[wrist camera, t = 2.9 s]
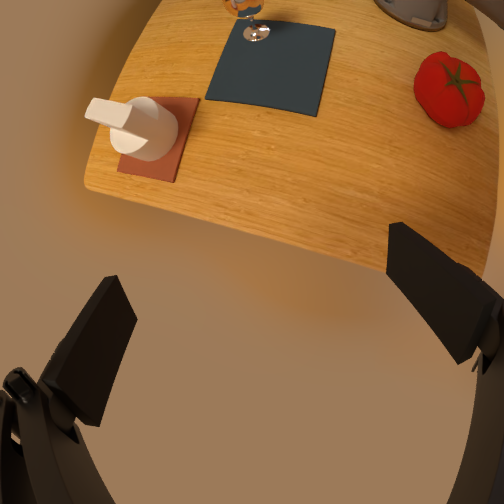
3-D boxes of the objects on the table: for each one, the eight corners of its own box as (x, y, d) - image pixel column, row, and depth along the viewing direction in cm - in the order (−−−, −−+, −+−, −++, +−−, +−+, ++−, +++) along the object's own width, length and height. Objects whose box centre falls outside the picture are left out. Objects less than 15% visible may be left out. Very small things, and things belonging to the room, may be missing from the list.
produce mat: (142, 97, 39) (140, 96, 39) (199, 99, 37) (198, 98, 36) (118, 171, 41) (116, 171, 41) (174, 182, 39) (172, 182, 38)
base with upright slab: (187, 116, 37) (145, 84, 25) (162, 168, 39) (112, 152, 27) (147, 105, 38) (102, 78, 27) (124, 152, 40) (74, 137, 28)
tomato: (458, 79, 27) (480, 55, 18) (468, 143, 28) (499, 126, 19) (403, 63, 29) (418, 31, 20) (411, 127, 30) (434, 102, 22)
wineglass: (274, 41, 33) (259, -8, 21) (239, 46, 34) (215, 0, 22) (272, 20, 32) (258, -28, 21) (239, 24, 34) (217, -20, 22)
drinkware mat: (237, 20, 34) (237, 19, 34) (335, 31, 31) (335, 29, 30) (205, 99, 37) (204, 98, 36) (315, 117, 33) (315, 115, 33)
